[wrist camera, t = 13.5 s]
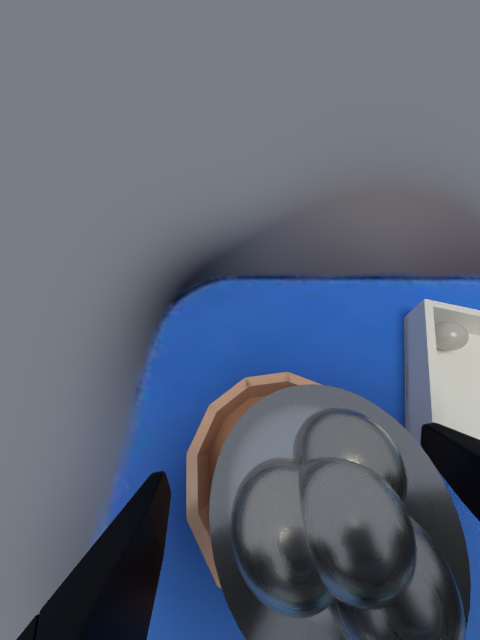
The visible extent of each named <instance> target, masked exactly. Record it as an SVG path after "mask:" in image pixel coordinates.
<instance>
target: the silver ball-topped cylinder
mask: <svg viewBox="0 0 480 640" xmlns="http://www.w3.org/2000/svg"><path fill="white" fill-rule="evenodd" d="M209 524H210V539H211V545H212V552H213V558H214V563H215V567H216V570H217V574H218V578H219V582H220V585H221V588H222V590H223V593H224V596H225V598H226V601H227V604H228V606H229V608H230V610H231V612H232V614H233V616H234V618H235V620H236V622H237V624H238V626H239V628H240V630H241V632H242V633H243V635H244V636H245V638H246V640H465V636H466V627H467V621H468V615H469V609H470V586H471V583H470V570H469V559H468V554H467V548H466V543H465V538H464V534H463V530H462V527H461V524H460V520H459V517H458V514H457V511H456V509H455V506H454V504H453V501H452V498H451V496H450V494H449V492H448V490H447V488H446V486H445V484H444V482H443V480H442V478H441V476H440V474H439V472H438V471H437V469H436V468H435V466H434V464H433V463H432V461H431V460H430V458H429V457H428V455H427V454H426V453H425V451H424V450H423V449H422V447H421V446H420V445H419V443H418V442H417V441H416V440H415V439H414V438H413V437H412V435H411V434H410V433H409V432H408V431H407V430H406V429H405V428H404V427H403V426H402V425H401V424H400V423H399V422H398V421H396V420H395V419H394V418H393V417H392V416H391V415H389V414H388V413H387V412H385V411H384V410H383V409H381V408H380V407H378V406H377V405H375V404H374V403H372V402H370V401H369V400H367V399H365V398H363V397H361V396H359V395H357V394H354V393H352V392H349V391H346V390H343V389H340V388H336V387H332V386H327V385H317V384H308V385H297V386H291V387H287V388H284V389H281V390H278V391H276V392H274V393H271V394H269V395H267V396H266V397H264V398H263V399H261V400H260V401H258V402H256V403H255V404H254V405H253V406H252V407H251V408H250V409H248V410H247V411H246V412H245V413H244V415H243V416H242V417H241V418H240V419H239V420H238V421H237V423H236V424H235V426H234V427H233V429H232V430H231V432H230V433H229V435H228V437H227V439H226V441H225V443H224V445H223V447H222V449H221V452H220V455H219V458H218V460H217V463H216V467H215V471H214V475H213V479H212V486H211V493H210V508H209Z"/></svg>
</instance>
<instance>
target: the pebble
mask: <svg viewBox="0 0 480 640" xmlns="http://www.w3.org/2000/svg"><path fill="white" fill-rule="evenodd" d="M435 336H436V347H437V348H439V349H441V350H445V351H454V350H458V349H460V348H462V347H464V346H465V345H466V344H467V342H468V339H469V334H468V331H467V330H466V329H465V328H464V327H463V326H462V325H460V324H458V323H456V322H451V321H444V322H440V323H437V324H435Z"/></svg>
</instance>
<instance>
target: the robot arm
mask: <svg viewBox="0 0 480 640" xmlns="http://www.w3.org/2000/svg"><path fill="white" fill-rule="evenodd" d="M420 444H421V447H422V449H423V450H424V451H425V453H426V454H427V455H428V457H429V458H430V460H431V461H432V463H433V464H434V466H435V467H436V468H437V470H438V471H439V472H440V473H441V475H442V476H443V477H444V479H445V480H446V481H447V483H448V484H449V485H450V487H451V488H452V489H453V490H454V492H455V493H456V494H457V496H458V497H459V498H460V499H461V501H462V502H463V503H464V504H465V505H466V506H467V508H468V509H469V510H470V511H471V512H472V513H473V514H474V516H475V517H476V518H477V519H478V520H479V521H480V440H479V439H477V438H474V437H471V436H469V435H466V434H464V433H461V432H459V431H456V430H454V429H451V428H449V427H446V426H443V425H441V424H438V423H427V424H423V425H422V427H421V440H420ZM170 499H171V491H170V486H169V483H168V480H167V476H166V473H165V472H164V471H160V472H155V473H152V474H151V475H150V476H149V477H148V478H147V480H146V481H145V482H144V483H143V485H142V486H141V487H140V488H139V489H138V491H137V492H136V493H135V494H134V496H133V497H132V498H131V499H130V501H129V502H128V503H127V504H126V505H125V507H124V508H123V509H122V510H121V512H120V513H119V514H118V515H117V517H116V518H115V519H114V520H113V521H112V523H111V524H110V525H109V526H108V528H107V529H106V530H105V531H104V532H103V534H102V535H101V536H100V537H99V539H98V540H97V541H96V542H95V544H94V545H93V546H92V547H91V548H90V550H89V551H88V552H87V553H86V555H85V556H84V557H83V558H82V560H81V561H80V562H79V563H78V565H77V566H76V567H75V568H74V569H73V571H72V572H71V573H70V574H69V576H68V577H67V578H66V579H65V581H64V582H63V583H62V584H61V586H60V587H59V588H58V589H57V590H56V592H55V593H54V594H53V595H52V597H51V598H50V599H49V600H48V601H47V603H46V604H45V605H44V606H43V608H42V609H41V610H40V613H39V615H36V616H35V617H34V619H33V620H32V621H31V622H30V624H29V625H28V626H27V627H26V628H25V630H24V631H23V632H22V633H21V634H20V636H19V637H18V638H17V640H146V639H147V634H148V629H149V625H150V620H151V615H152V610H153V605H154V600H155V595H156V591H157V586H158V581H159V576H160V571H161V566H162V561H163V555H164V548H165V540H166V532H167V523H168V515H169V507H170Z"/></svg>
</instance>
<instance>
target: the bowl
mask: <svg viewBox="0 0 480 640" xmlns="http://www.w3.org/2000/svg"><path fill="white" fill-rule="evenodd" d="M308 384H317V385H321V384H319V383H316V382H313V381H311V380H308V379H306V378H303V377H300V376H298V375H295V374H292V373H290V372H283V373H275V374H268V375H260V376H253V377H245V378H244V379H243V380H241V381H240V382H239V383H237V384H236V385H235V386H234V387H232V388H231V389H230V390H228V391H227V392H226V393H224V394H223V395H222V396H221V397H219V398H218V399H217V400H215V401H214V402H213V403H211V404H210V405H209V407H208V409H207V411H206V413H205V415H204V417H203V420H202V422H201V424H200V426H199V428H198V430H197V432H196V435H195V437H194V439H193V441H192V443H191V445H190V447H189V450H188V452H187V464H186V520H187V522H188V524H189V526H190V528H191V530H192V532H193V535H194V537H195V539H196V541H197V543H198V545H199V548H200V550H201V552H202V554H203V556H204V558H205V561H206V563H207V565H208V567H209V569H210V571H211V574H212V576H213V578H214V580H215V582H216V584H217V586H218V587H219V588H221V585H220V582H219V578H218V574H217V570H216V567H215V563H214V558H213V552H212V545H211V539H210V524H209V508H210V493H211V486H212V479H213V475H214V471H215V467H216V463H217V460H218V458H219V455H220V452H221V449H222V447H223V445H224V443H225V441H226V439H227V437H228V435H229V433H230V432H231V430H232V429H233V427H234V426H235V424H236V423H237V421H238V420H239V419H240V418H241V417H242V416H243V415H244V413H245V412H246V411H247V410H248V409H250V408H251V407H252V406H253V405H254V404H255V403H256V402H258V401H260V400H261V399H263V398H264V397H266V396H267V395H269V394H271V393H274V392H276V391H278V390H281V389H284V388H287V387H291V386H297V385H308ZM221 589H222V588H221Z"/></svg>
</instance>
